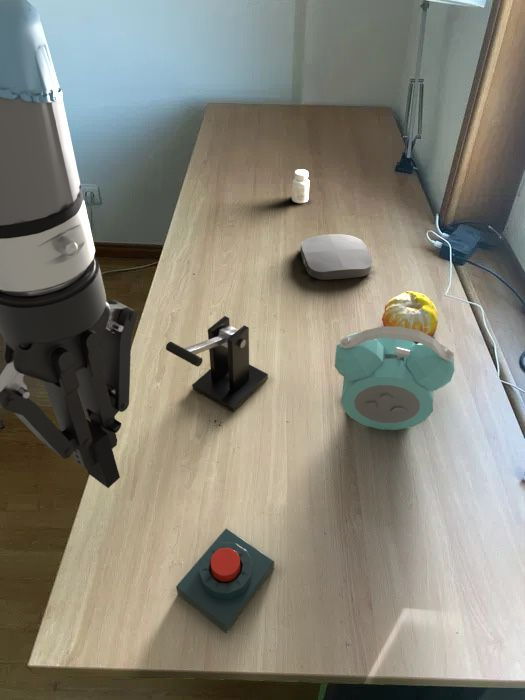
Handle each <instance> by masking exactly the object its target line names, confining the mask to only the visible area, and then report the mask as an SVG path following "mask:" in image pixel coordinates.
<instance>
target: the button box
mask: <svg viewBox="0 0 525 700" xmlns="http://www.w3.org/2000/svg"><path fill="white" fill-rule="evenodd" d="M222 548H230V549H232V550H234V551H235V552H236V553H237V554H238V556H239V558H240V572H239V574H238V576H237V577H236V578H235V579H234V580H232V581H229V582H221V581H218V580H217V579H215V577H214V576H213V574H212V572H211V558H212V556H213V554H214V553H215V552H216V551H217V550H219V549H222ZM274 570H275V560H274V559H272V558H271V557H269V555H266V554H264V552H262V551H260V550H259V549H258V548H256V547H255V546H253V545H252V544H250V543H249V542H247V541H246V540H244V539H243V538H242V537H240V536H238V535H237V534H236V533H234V532H233V531H232V530H230V529H228V528H227V527H226V528H224V530H223V531H222V533H221V534H219V536H218V537H217V538H216V539H215V541H213V543H212V544H211V545H210V546H209V548H207V550H206V551H205V552H204V553H203V554H202V556H201V557H200V558H199V559H198V560H197V562H195V564H194V565H193V566H192V567H191V568H190V569H189V571H188V572H187V573H186V574H185V575H184V577H182V579H181V580H180V581H179V582H178V584H177V585H176V586H175V588H176V594H177V596H178V597H180V598H182V599H183V600H184V601H185V602H186V603H188V604H189V605H190V606H192V608H194V610H196V611H198V612H199V613H200V614H202V615H203V616H204V617H205V618H206V619H208V620H209V621H210V622H212V623H213V624H214V625H215V626H217V627H218V628H219V629H220V630H222V631H223V632H225V634H227V633H229V631H230V630H231V628H232V626H233V625H234V624H235V623H236V621H237V620H238V619H239V617H240V616H241V615H242V613H243V612H244V611H245V609H246V608H247V607H248V605H249V604H250V602H251V601H252V600H253V598H255V596H256V594H257V593H258V592H259V590H260V589H261V588H262V586H263V585H264V584H265V582H266V581H267V580H268V578H269V577H270V576H271V574H272V573H273V572H274Z"/></svg>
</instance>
